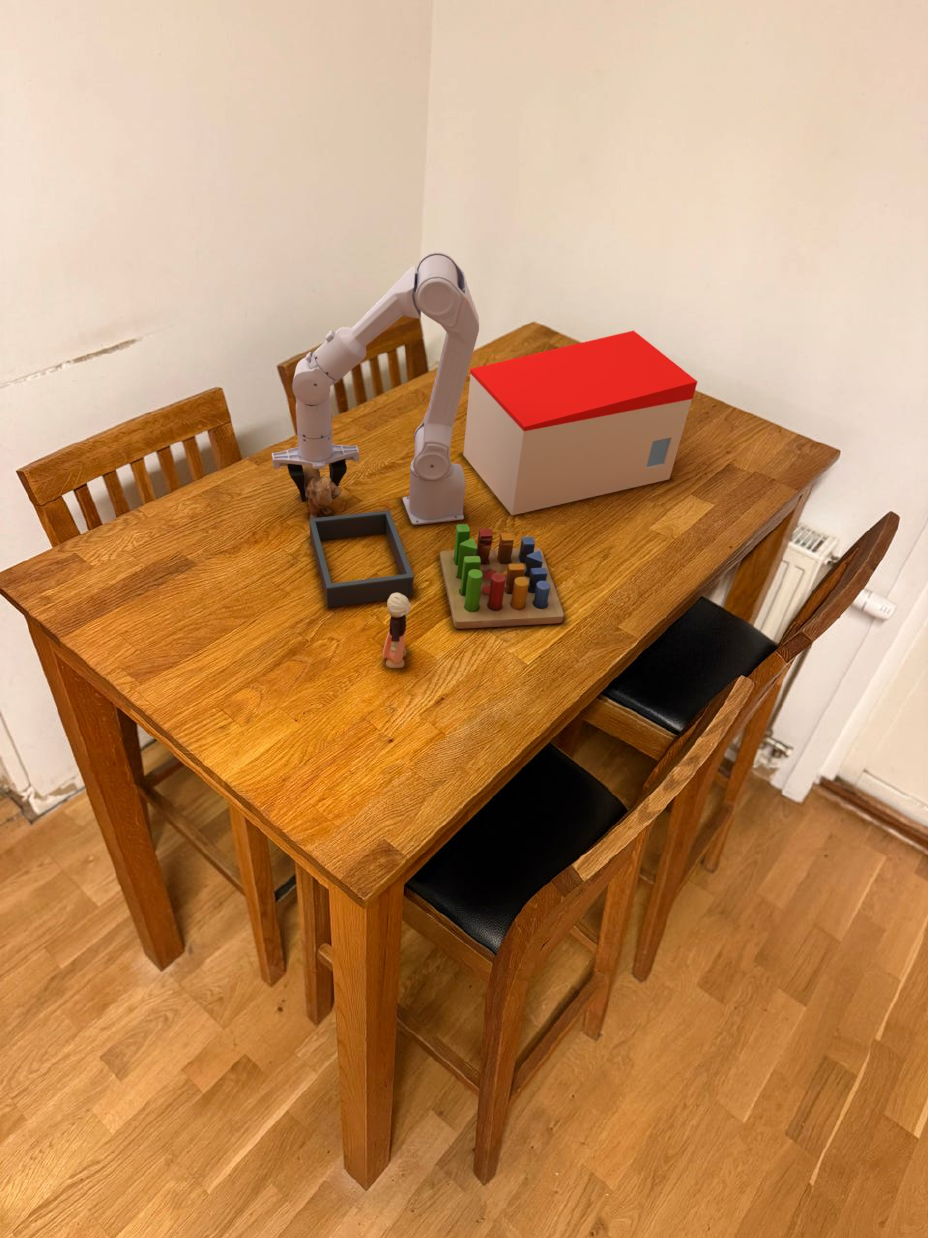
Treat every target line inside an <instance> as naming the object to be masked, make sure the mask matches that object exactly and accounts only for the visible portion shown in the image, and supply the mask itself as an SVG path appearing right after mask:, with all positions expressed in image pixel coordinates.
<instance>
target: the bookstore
mask: <svg viewBox="0 0 928 1238" xmlns="http://www.w3.org/2000/svg"><path fill="white" fill-rule="evenodd" d="M469 369H470V371H469V373H470V374H469V385H468V386H469V387H468V397H467V410H466V419H465V420H466V421H465V430H464V431H465V432H464V442H463V454H462V455H463V457H464V458H465V459H466V460H467V462H468V463H469V464H470V465H471V467H473V469H474V470H475V472H476V473H477V474H478V475H479V477H480V478H481V479H482V480H483V482H484V483H485V484H486V486H488V488H489V490H491V492H492V493H493V494H494V496H495V497H496V498H497V499H498V500H499V502H500V503H501V504H502V505H503V507H504V508H505V509H506V510H507V512H509V514H510V515H511V516H516V515H520V514H524V513H529V512H534V511H537V510H540V509H547V508H550V507H554V506H555V507H556V506H559V505H563V504H568V503H572V502H577V501H581V500H585V499H590V498H595V497H597V496H602V495H607V494H612V493H616V492H619V491H625V490H628V489H632V488H633V489H634V488H638V487H642V486H647V485H650V484H654V483H658V482H663V481H667V480H670V478H671V475H672V471H673V468H674V464H675V461H676V457H677V453H678V450H679V446H680V443H681V439H682V436H683V432H684V428H685V425H686V422H687V419H688V414H689V411H690V408H691V404H692V400H693V399H694V396H695V392H696V389H697V385H698V382H699V381H698V380H697V379H695V378H694V377H693V376H691V375H690V374H689V373H688V372H686V371H685V370H684V369H683V368H682V367H680V366H679V365H678V364H677V363H675V362H674V360H671V359H670V358H669V357H668V356H667V355H665V354H664V353H663V352H662V351H660V350H659V349H657V348H656V347H655V346H654V345H653V344H652V343H650V342H649V341H648V340H646V339H645V338H644V337H642V336H641V335H640V334H639V333H638V332H636V331H635V330H630V331H626V332H620V333H617V334H612V335H608V336H604V337H599V338H596V339H591V340H587V341H583V342H579V343H573V344H570V345H566V346H561V347H557V348H552V349H549V350H545V351H540V352H536V353H532V354H528V355H527V354H526V355H523V356H520V357H515V358H511V359H506V360H501V361H498V362H493V363H490V364H485V365H480V366H476V367H473V368H469Z"/></svg>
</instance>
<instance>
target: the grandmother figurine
mask: <svg viewBox="0 0 928 1238" xmlns="http://www.w3.org/2000/svg"><path fill="white" fill-rule="evenodd" d="M386 607H387V612H388V615H389V616H390V618H389V629H388V633H387V636H386V638H385V641H384V645H383V649H382V658H383V659H386V660H385V665H386V667H387V668H389V669H401V668H403V667H405V661H404V657H405V656H406V655H407V651H406V642H405V641H406V640H405V637H406V631H407V615H408V614H409V613H410V612H411V609H412V605H411V603H410V601H409V599H408V597H406V596H404V595H402V594H400V593H393V594H391V595H390V597H389V599H388V600H387V602H386Z"/></svg>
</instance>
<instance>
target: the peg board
mask: <svg viewBox="0 0 928 1238" xmlns="http://www.w3.org/2000/svg"><path fill="white" fill-rule="evenodd" d="M470 534H471V529H470V526H469V524H467V523H462V524H461V523H460V524H459V523H458V524H456V525H455V539H454V549H453V550H442V551H440V552H439V563H440V568H441V573H442V577H443V582H444V587H445V591H446V596H447V600H448V604H449V605H448V606H449V609H450V613H451V618H452V623H453V626H454V628H455V629H458V630H461V629H462V630H463V629H479V628H480V629H481V628H495V627H496V628H497V627H498V628H499V627H514V626H531V625H533V626H534V625H550V624H561V623H563V621H564V617H565V613H564V609H563V606H562V603H561V602H560V599H559V595H558V592H557V590H556V587H555V584H554V582H553V578H552V575H551V573H550V570H549V567H548V563H547V561H546V559H545V556H544V553H543V550H542V549H541V547H537V546H536V541H535V538H534V537H533V536H522V537H521V541H520V547H514V544H515V539H514V534H513V533H512V532H501V533H500V535H499V541H498V548H492V544H493V531H492V529H491V528H479V529H478V537H477V544H476V541H475V539H474V538H473V537H471V538H470Z"/></svg>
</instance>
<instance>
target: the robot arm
mask: <svg viewBox="0 0 928 1238" xmlns="http://www.w3.org/2000/svg"><path fill="white" fill-rule="evenodd" d="M474 303H475V302H474V300H473V297H472V294H471V292H470V289H469V286H468V283H467V279H466V275H465V272H464V271H463V269H461V267H460V266H459V265H458V264H457V262H456V261H455V260H454V259H453V258H452V257H451V256H449V255H448V254H447V253H444V252H440V251H434V252H430V253H428V254H426V255H424V256H423V257H422V258H421V259H420V260H419V263H418V264H417V267H416V264H415V265H413V266H411V267H409V268H408V269H407V270H406V271H405V272H404V273H403V274H402V276H400V278H398V280H397V281H396V282H395V283H394V284H393V285H392V286H391V287H390V288H389V289H388V290H387V291H386V292H385V294H384V295H383V296H382V297H381V298H379V300H377V302H376V303H374V305H373V306H371V308H370V309H368V311H367V312H366V313H364V315H363V316H362V317H361V318H360V319H359V320H358V321H357V322H356V323H355V324H354V325H353V326H352V327H347V326H346V327H345V326H342V327H339V328H338V329H337V330H335V331H334V330H332V329H331V330H330V331H328V333H326V335H325V341H324V342H323V343H322V344H321V345H320V346H319V347H318V348H317V349H316V350H315V351H313V352H311V351H309V352H308V353H307V354H306V355H305V357H303V358H301V359H300V360H299V361H298V363H297V364H296V366H295V370H294V374H293V379H292V385H291V387H292V389H291V390H292V393H293V396H294V397H295V401H296V402H295V418H296V419H295V420H296V433H297V434H296V435H297V446H296V447H293V448H289V449H286V450H282V451H278V452H271V459H272V460H271V461H272V467H273V470H278V469H280V468H281V467H287V470H288V474H289V476H290V479H291V480H292V481H293V482H294V485H295V486H296V487H297V490H298V493H299V495H300V500H301V502H302V503H304V502H305V503H306V502H307V498H306V495H305V488H304V472H303V466H304V465H307V466H313V468H314V469H319V470H322V469H326V465H328V472H329V477H330V479H331V482H333V483H335V485H336V486H338V487H340V484H341V481H342V480H343V477H344V476H345V475H346V474H347V471H348V466H347V461H352V462H353V463H355V462H360V449H359V448H358V445H343V444H333V419H332V417H333V416H332V415H333V414H332V404H331V397H330V394H331V387H332V386H333V385H335V384H337V383H339V382H340V380H342V379H343V378H344V377H345V376H347V374H348V373H349V372H351V371H352V370H353V369H354V368H356V367H357V365H358V364H360V363H361V362H362V361H363V360H364V359H365V358H366V357H367V346H368V345H369V344H370V343H372V342H373V341H374V340H375V339H376V338H377V337H379V336H380V335H381V334H382V333H384V332H385V331H386V330H387V329H388V328H390V327H391V326H392V325H394V324H395V323H396V322H397V321H398V320H399V319H400V318H402V317H407V318H412V319H421V318H422V314H423V315H425V316H426V317H427V318H429V319H431V320H432V321H434V322H435V323H437V324H439V325H440V326H441V327H442V328H443V330H444V331H445V332H446V333H445V337H444V341H443V345H442V348H441V353H440V357H439V361H438V365H437V370H436V374H435V378H434V381H433V386H432V390H431V394H430V399H429V402H428V405H427V406H428V407H427V411H426V412H425V413H424V417H423V420H422V422H421V423H420V425H418V426H417V427H416V429H415V431H414V435H413V441H414V452H413V453H414V455H413V459H412V460H411V462H410V465H409V466H410V467H409V491H408V496H404V497H402V503H403V505H404V508H405V510H406V513H407V516H408V518H409V520H410V523H411V525H412V526H420V525H428V524H437V523H446V522H457V521H462V520H464V518H465V516H464V507H465V506H464V505H465V495H466V477H465V472H464V469H463V467H462V465H461V464H460V463H454V462H451V446H452V440H453V439H452V437H453V432H454V431H453V430H454V425H455V422H456V418H457V413H458V410H459V406H460V402H461V399H462V395H463V391H464V388H465V383H466V380H467V377H468V373H469V369H470V365H471V361H472V358H473V354H474V351H475V347H476V343H477V339H478V335H479V332H480V318H479V314H478V311H477V308H476V305H475V304H474ZM335 499H336V498H335V497H332V500H335Z"/></svg>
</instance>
